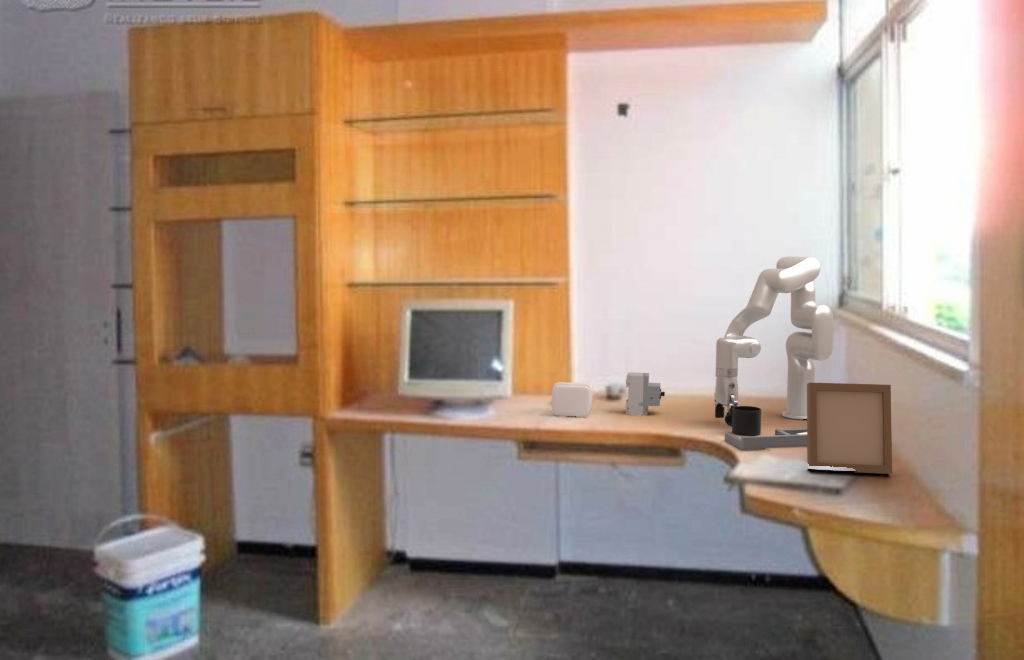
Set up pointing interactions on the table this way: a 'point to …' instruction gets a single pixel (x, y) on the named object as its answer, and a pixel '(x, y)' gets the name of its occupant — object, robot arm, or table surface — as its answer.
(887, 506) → the table surface
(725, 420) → the mug
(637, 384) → the circuit breaker
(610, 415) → the table surface
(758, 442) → the organizer
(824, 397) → the photo frame
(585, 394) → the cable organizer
